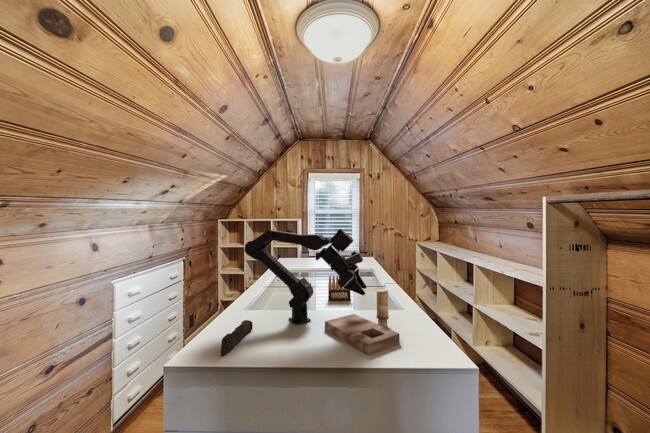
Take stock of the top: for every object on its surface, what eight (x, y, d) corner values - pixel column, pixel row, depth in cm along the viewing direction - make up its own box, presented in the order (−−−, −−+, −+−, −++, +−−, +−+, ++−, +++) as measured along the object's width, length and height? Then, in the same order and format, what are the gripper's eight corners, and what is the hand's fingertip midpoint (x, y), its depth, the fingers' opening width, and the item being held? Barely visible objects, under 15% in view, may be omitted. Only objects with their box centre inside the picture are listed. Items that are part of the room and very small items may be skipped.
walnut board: (324, 329, 97) (324, 321, 97) (353, 321, 104) (353, 313, 104) (368, 355, 78) (367, 344, 78) (399, 343, 86) (399, 333, 86)
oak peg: (374, 325, 100) (373, 290, 100) (382, 322, 103) (382, 288, 103) (382, 329, 97) (382, 293, 97) (391, 326, 99) (390, 291, 99)
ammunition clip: (328, 301, 131) (327, 275, 132) (328, 299, 133) (328, 274, 133) (350, 300, 131) (350, 275, 131) (350, 299, 133) (350, 274, 133)
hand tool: (242, 330, 98) (242, 317, 98) (253, 331, 97) (252, 317, 97) (212, 357, 79) (212, 340, 79) (225, 358, 78) (225, 341, 78)
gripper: (346, 247, 93) (380, 281, 91) (352, 243, 112) (380, 271, 109) (324, 270, 95) (357, 304, 92) (333, 262, 113) (361, 290, 111)
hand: (365, 291), depth 101 cm, fingers open, 9 cm apart
